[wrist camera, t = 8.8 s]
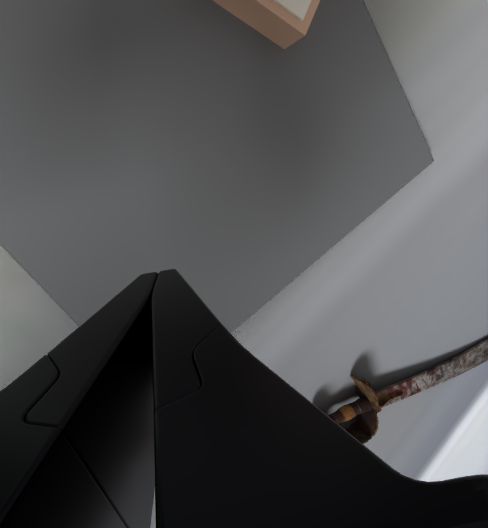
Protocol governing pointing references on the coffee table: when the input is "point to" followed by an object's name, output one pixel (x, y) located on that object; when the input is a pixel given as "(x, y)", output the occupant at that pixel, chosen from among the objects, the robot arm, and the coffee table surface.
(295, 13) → the tile
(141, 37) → the mat
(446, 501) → the robot arm
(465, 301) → the coffee table surface
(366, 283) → the coffee table surface
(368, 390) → the sword
